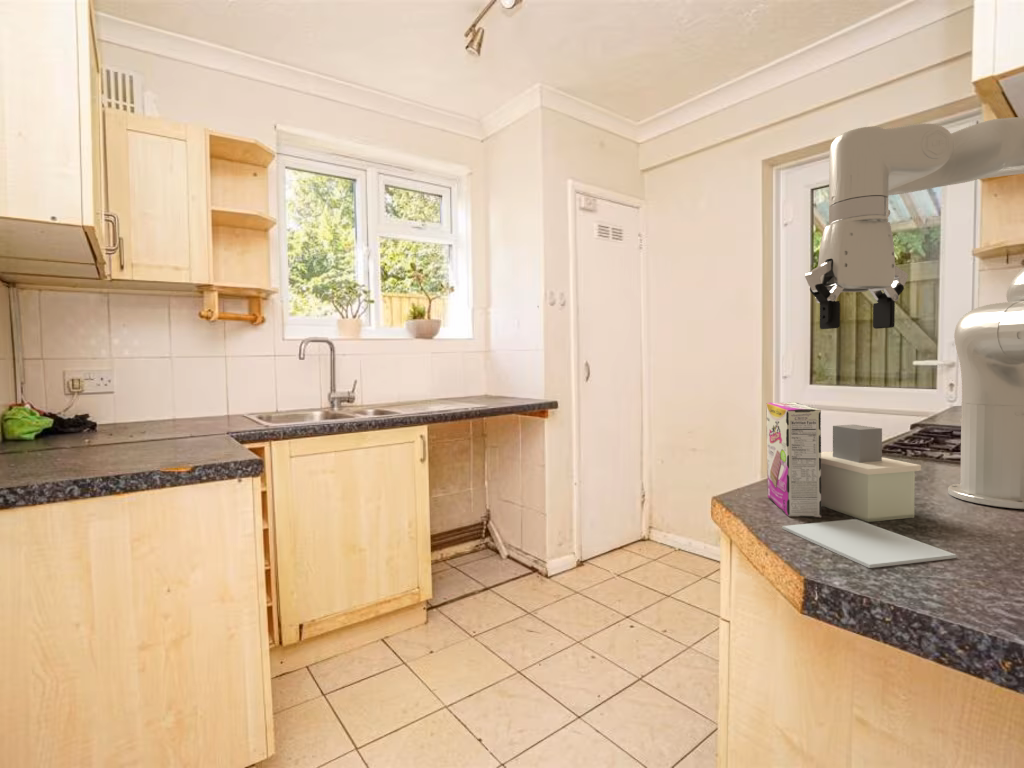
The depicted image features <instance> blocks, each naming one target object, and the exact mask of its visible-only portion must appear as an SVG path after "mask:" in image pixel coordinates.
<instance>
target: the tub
mask: <svg viewBox="0 0 1024 768" xmlns="http://www.w3.org/2000/svg"><path fill="white" fill-rule="evenodd" d="M915 474H916V471H910V472H898V473H885V474H872V475H867V474H863V473H859V472H855V471H851V470H847V469H843V468H839V467H835V466H831V465H826V464H822V463H821V507H824V508H827V509H830V510H833V511H834V512H835V511H836V512H838V513H842V514H844V515H847V516H850V517H853V518H854V519H857V520H860V521H863V522H866V523H870V522H871V523H873V522H880V521H881V522H882V521H889V520H890V521H891V520H901V519H902V520H903V519H911V518H912V519H914V518H915V496H916V495H915V494H916V493H915V491H916V490H915V489H916V488H915V486H916V485H915V484H916V483H915V481H916V478H915V476H916V475H915Z"/></svg>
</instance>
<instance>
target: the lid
mask: <svg viewBox="0 0 1024 768" xmlns="http://www.w3.org/2000/svg"><path fill="white" fill-rule="evenodd" d="M821 463H822V464H826V465H831V466H835V467H839V468H843V469H847V470H851V471H855V472H859V473H863V474H867V475H872V474H885V473H898V472H910V471H915V472H919V471H920V472H921V471H922V465H921V464H916V463H913V462H907V461H902V460H897V459H892V458H887V457H883V428H881V427H875V426H874V427H873V426H867V425H861V424H843V425H840V424H839V425H838V424H837V425H833V426H832V451H821Z"/></svg>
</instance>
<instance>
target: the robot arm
mask: <svg viewBox="0 0 1024 768" xmlns="http://www.w3.org/2000/svg"><path fill="white" fill-rule="evenodd" d="M828 156H829V160H828V161H829V163H828V164H829V170H828V172H829V177H828V178H829V181H828V182H829V183H828V184H829V185H828V186H829V187H828V195H829V196H828V199H829V201H828V202H829V203H828V207H829V208H828V225H827V226H825V227H824V228H823V229H824V230H823V232H822V237H821V241H820V246H819V252H818V262H817V267H815V268H813V269H812V270H809V271H808V272H806V273H805V276H804V278H805V280H806V281H807V284H808V286H809V287H810V288H809V291H810V293H811V294H812V295H813V297H815V302H816V303H817V304H819V329H820V330H830V329H831V330H832V329H839V328H840V325H841V324H840V323H841V303H840V300H837V299H838V297H839V295H840V294H841V293H864V292H868V291H869V293H870V294H871V295H872V296H873V298H874V299H875V300H876V303H875V302H874V303H873V305H872V328H873V329H875V330H877V329H888V328H894V327H895V316H896V315H895V312H896V309H895V307H896V302H897V301H899V298H900V295H901V294H902V293H903V291H904V289H905V288H904V286H905V285H906V283H907V280H908V278H909V274H908V272H906V271H904V270H902V269H901V268H900V267H898V266H896V259H895V258H896V257H895V256H896V255H895V254H896V253H895V245H894V237H893V232H892V230H893V229H892V226H891V222H889V217H890V214H891V211H890V209H889V196H894V195H896V196H897V195H904V194H909V193H915V192H920V191H925V190H930V189H935V188H941V187H946V186H952V185H953V186H954V185H958V184H964V183H968V182H973V181H978V180H982V179H988V178H989V179H990V178H996V177H997V178H998V177H1005V176H1017V175H1024V116H1018V117H1004V118H994V119H989V120H984V121H982V122H979V123H976V124H973V125H970V126H966V127H964V128H961V129H959V130H956V131H954V132H951V131H949V130H948V129H947V128H946V127H943V126H942V125H939V124H936V123H915V124H911V125H910V124H909V125H905V126H897V127H892V128H889V127H888V128H883V127H880V126H863V127H862V126H861V127H859V128H854V129H852V130H849V131H846V132H844V133H841V134H840V135H838V136H837V137H835V138H834V140H833V141H832V142H831V144H830V146H829V155H828ZM882 291H883V292H882ZM1005 296H1006V302H999V303H997V302H996V303H990V304H985V305H982V306H979V307H976V308H974V309H971V310H969V311H968V312H967V313H965V314H964V315H963V316H962V317H961V318H960V319H959V321H958V322H957V323H956V326H955V329H954V334H953V335H954V344H955V345H954V346H955V349H956V352H957V353H956V354H957V357H958V360H959V361H958V362H959V366H960V367H959V368H960V373H961V374H960V375H961V376H960V378H961V416H960V417H961V422H960V423H961V425H960V426H961V427H960V430H961V431H960V476H959V478H960V482H959V483H953V484H950V485H949V486H948V489H947V490H948V491H947V493H948V494H949V495H950V496H951V497H953V498H956V499H959V500H962V501H966V502H969V503H975V504H979V505H984V506H989V507H990V506H991V507H996V508H997V507H998V508H1005V509H1006V508H1007V509H1014V510H1015V509H1016V510H1017V509H1018V510H1024V267H1022V268H1021V269H1020V271H1019V272H1018V273H1017V274H1016V275H1015V276H1014V278H1012V280H1011V281H1010V283H1009V285H1008V287H1007V291H1006V293H1005Z"/></svg>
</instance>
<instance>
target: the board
mask: <svg viewBox="0 0 1024 768" xmlns="http://www.w3.org/2000/svg"><path fill="white" fill-rule="evenodd" d="M781 529H782V530H784V531H786V532H788V533H791V534H793V535H795V536H797V537H799V538H802V539H804V540H805V541H808V542H811V543H813V544H815V545H817V546H819V547H821V548H824V549H826V550H829V551H830V552H833V553H835V554H837V555H839V556H841V557H844V558H846V559H848V560H850V561H853V562H855V563H856V564H859V565H862V566H863V567H866V568H868V569H875V568H882V567H891V566H900V565H908V564H917V563H925V562H933V561H941V560H943V561H944V560H950V559H957V554H955V553H954V552H951V551H947V550H944V549H942V548H939V547H936V546H934V545H930V544H928V543H924V542H923V541H919V540H916V539H913V538H911V537H908V536H904V535H902V534H899V533H897V532H893V531H891V530H887V529H885V528H882V527H879V526H877V525H875V524H870V522H866V521H864V520H861V519H858V518H854V519H853V518H851V519H843V520H832V521H820V522H811V523H802V524H790V525H782V526H781Z"/></svg>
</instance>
